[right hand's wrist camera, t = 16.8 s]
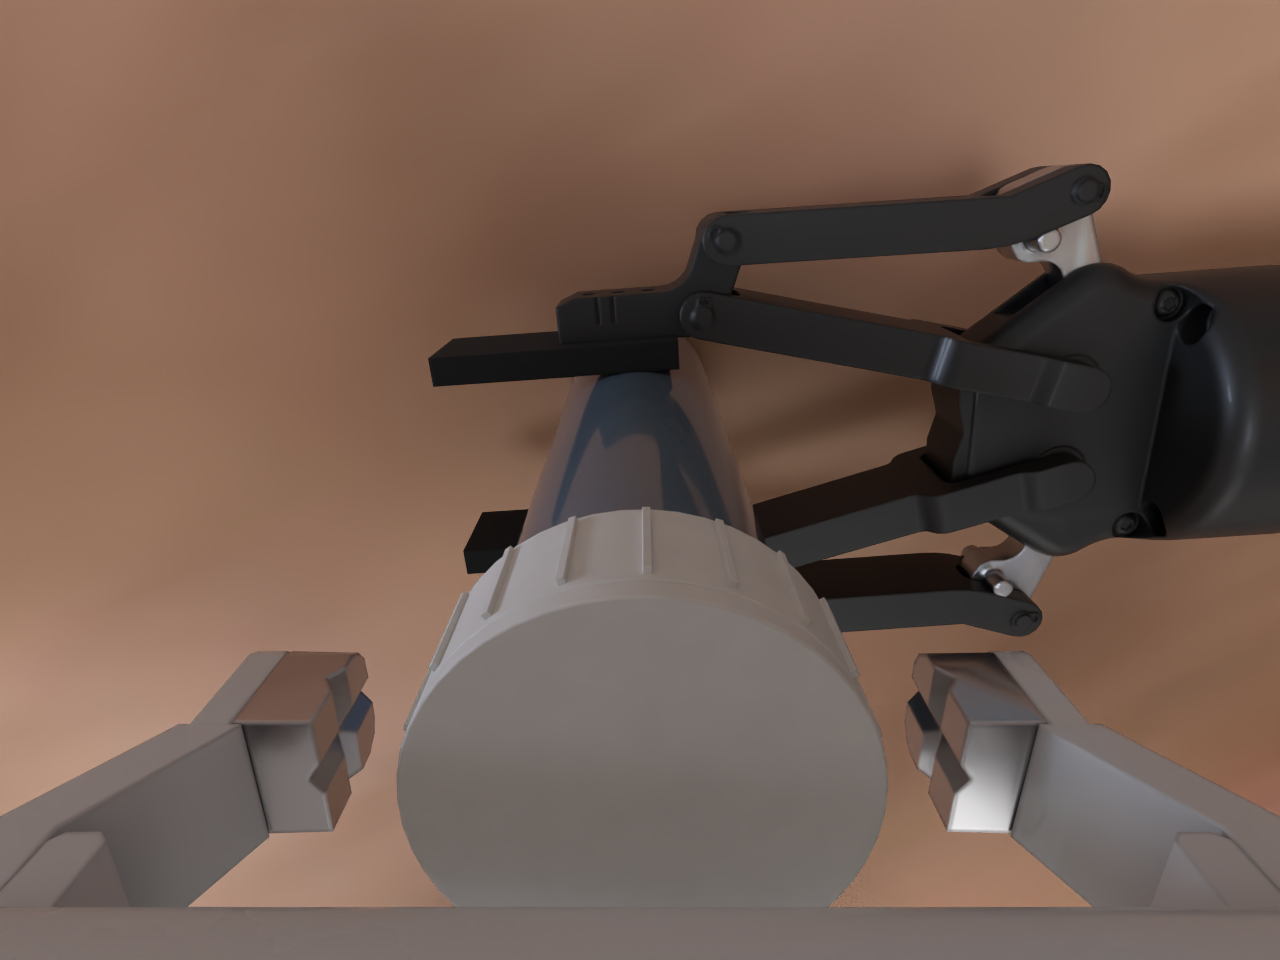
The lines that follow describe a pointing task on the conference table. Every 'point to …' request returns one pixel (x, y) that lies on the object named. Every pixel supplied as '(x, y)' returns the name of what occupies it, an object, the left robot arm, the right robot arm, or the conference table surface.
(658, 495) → the dark grey cylinder
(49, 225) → the conference table surface
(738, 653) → the lid
